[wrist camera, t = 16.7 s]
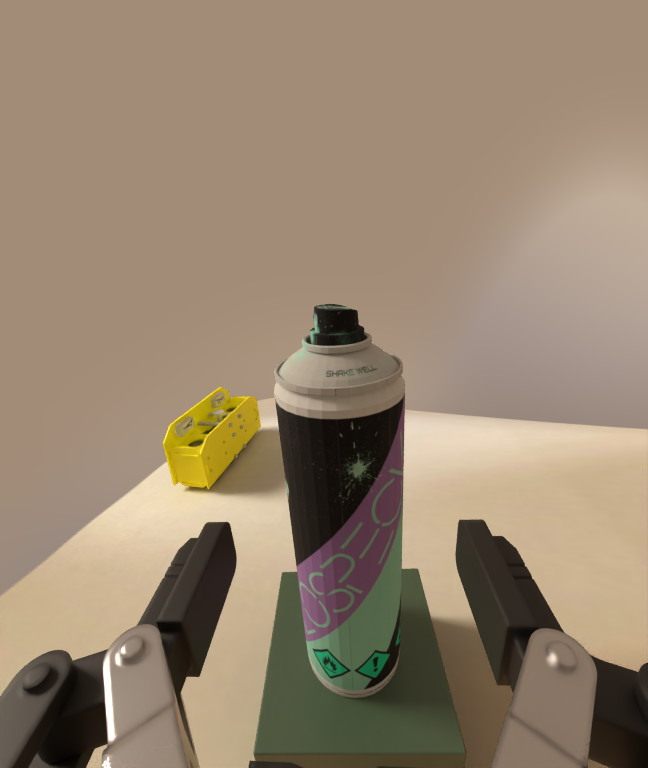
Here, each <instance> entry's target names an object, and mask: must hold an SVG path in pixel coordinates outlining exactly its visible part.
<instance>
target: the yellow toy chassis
mask: <svg viewBox="0 0 648 768" xmlns="http://www.w3.org/2000/svg"><path fill="white" fill-rule="evenodd" d="M217 392H219V393H218V394H217ZM216 394H217V395H216ZM179 422H180V424H178V425H177V423H179ZM176 425H177V426H176ZM260 427H261V424H260V418H259V411H258V404H257V399H256V398H254V397H252V396H248V397H232V398H231V399H230V396H229V391H227V390H225V389H224V388H222V387H219V388H218V389H217V390H215V391H214V392H213V393H212V394H210V395H209V396H207V397H206V398H205V399H203V400H202V401H201V402H199V403H198V404H197V405H195V406H194V407H193V408H191V409H190V410H189V411H187V412H186V413H185V414H183V415H182V416H181V417H179V418H178V419H177V420H175V421H174V422H173V423H171V424H170V425H169V428H168V430H167V433H166V436H165V438H164V441H163V447H164V450H165V454H166V458H167V461H168V465H169V469H170V472H171V476H172V480H173V483H174V485H176V484H177V483H178V482H179V483H181V484H182V485H184V486H193V487H202V488H203V487H205V486H207V489H209V488H210V487H211V486H212V485H213V483H214V482H215V481H216V480H217V478H218V477H219V476H220V475H221V474H222V472H223V471H224V470H225V469H226V468H227V466H228V465H229V464H230V463H231V462H232V460H233V459H234V458H238V453H239V452H240V451H241V450H242V448H246V447H247V445H246V443H247V442H248V441H249V440H250V439H251V437H252V436H253V435H254V434H255V433H256V431H257V430H258V429H259V428H260ZM175 429H176V433H177V435H176V434H175Z"/></svg>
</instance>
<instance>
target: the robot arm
mask: <svg viewBox="0 0 648 768" xmlns="http://www.w3.org/2000/svg"><path fill="white" fill-rule="evenodd" d="M456 564H457V569H458V573H459V576H460V579H461V582H462V585H463V588H464V591H465V593H466V596H467V599H468V602H469V605H470V608H471V611H472V614H473V616H474V619H475V622H476V625H477V628H478V631H479V634H480V637H481V639H482V642H483V645H484V648H485V651H486V654H487V657H488V660H489V662H490V665H491V668H492V671H493V674H494V677H495V680H496V683H497V685H510V686H511V688H512V691H513V697H512V701H511V704H510V707H509V710H508V712H507V714H506V717H505V720H504V724H503V727H502V730H501V734H500V737H499V741H498V744H497V748H496V751H495V754H494V758H493V761H492V765H491V768H588V758H589V759H591V760H593V761H596V762H598V763H601V764H603V765H605V766H608V767H610V768H648V663H645V664H644V665H643V666H642V667H641V668H640V670H639V672H636V671H633V670H630V669H627V668H624V667H621V666H618V665H614V664H611V663H608V662H605V661H602V660H600V659H597V658H595V657H593V656H591V655H590V654H589V653H588V652H587V651H586V650H585V649H584V647H583V646H582V645H581V644H579V643H578V642H577V641H576V640H575V639H573V638H572V637H570V636H569V635H567V634H565V633H564V631H563V630H562V628H561V627H560V625H559V623H558V621H557V620H556V618H555V616H554V614H553V613H552V611H551V609H550V607H549V606H548V604H547V602H546V600H545V599H544V597H543V595H542V593H541V592H540V590H539V588H538V586H537V584H536V583H535V581H534V579H532V576H531V574H530V572H529V570H528V569H527V567H525V563H524V562H523V560H522V558H521V556H520V555H519V553H518V551H517V549H516V548H515V547H514V546H513V545H512V544H510V543H509V542H508V541H507V540H506V539H505V538H504V537H503V536H492V534H491V533H490V531H489V529H488V527H487V525H486V523H485V521H484V520H459V523H458V533H457V544H456ZM235 569H236V550H235V546H234V541H233V536H232V532H231V527H230V524H229V523H228V522H208V523H206V524H205V526H204V527H203V529H202V531H201V533H200V535H199V537H198V538H190V539H189V540H188V541H187V542H186V543H185V544H184V545H183V546H182V547H181V548H180V549H179V550H178V552H177V554H176V556H175V557H174V559H173V561H172V563H171V567H169V568H168V570H167V572H166V574H165V577H164V578H163V579H162V581H161V583H160V585H159V587H158V588H157V590H156V592H155V594H154V596H153V597H152V599H151V601H150V603H149V605H148V607H147V608H146V610H145V612H144V614H143V616H142V617H141V619H140V621H139V623H138V624H137V626H135V627H133V628H131V629H129V630H127V631H126V632H124V633H123V634H122V635H120V636H119V637H118V638H117V639H116V640H115V641H114V642H113V643H112V645H111V646H110V648H109V649H107V650H104V651H102V652H99V653H96V654H92V655H89V656H86V657H83V658H80V659H77V660H74V661H72V659H71V657H70V655H69V654H68V653H67V652H66V651H63V650H54V651H50V652H47V653H45V654H42V655H41V656H39V657H37V658H35V659H34V660H32V661H31V662H30V663H28V664H27V665H26V666H25V667H24V668H23V669H21V670H20V671H19V673H18V674H17V675H16V676H15V677H14V678H13V680H12V681H11V682H10V684H9V685H8V686H7V688H6V689H5V691H4V692H3V693H2V695H1V696H0V768H86V766H87V764H88V762H89V760H90V758H91V755H92V753H93V751H94V749H95V748H98V747H100V746H103V745H106V744H108V745H107V748H106V749H105V750H104V751H103V753H102V768H200V767H199V763H198V759H197V755H196V751H195V747H194V743H193V739H192V735H191V731H190V726H189V722H188V718H187V714H186V710H185V706H184V702H183V698H182V694H181V690H182V688H183V685H184V682H185V679H186V677H199V676H200V673H201V671H202V668H203V665H204V662H205V659H206V656H207V653H208V650H209V647H210V644H211V641H212V638H213V635H214V632H215V629H216V626H217V623H218V620H219V617H220V614H221V612H222V609H223V606H224V603H225V600H226V597H227V594H228V591H229V588H230V585H231V582H232V579H233V576H234V573H235ZM249 768H303V767H301V766H298V765H296V764H294V763H291V762H266V761H250V763H249ZM376 768H412V767H388V766H379V767H376Z"/></svg>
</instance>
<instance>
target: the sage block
mask: <svg viewBox="0 0 648 768" xmlns="http://www.w3.org/2000/svg"><path fill="white" fill-rule="evenodd" d="M254 757H255V761H266V762H291V763H294V764H296V765H298V766H301V767H303V768H376V767H379V766H388V767H412V768H464V765H465V759H466V749H465V746H464V742H463V738H462V734H461V730H460V727H459V723H458V719H457V715H456V711H455V708H454V704H453V700H452V696H451V693H450V689H449V685H448V681H447V677H446V674H445V670H444V666H443V662H442V658H441V655H440V651H439V647H438V643H437V639H436V636H435V632H434V628H433V624H432V620H431V617H430V613H429V609H428V605H427V601H426V598H425V594H424V590H423V586H422V582H421V579H420V575H419V571H418V569H402V571H401V623H400V653H399V660H398V665H397V668H396V671H395V673H394V675H393V677H392V678H391V680H390V681H389V683H387V684H386V685H385V686H384V687H383V688H382V689H381V690H380V691H378V692H376V693H375V694H373V695H370V696H367V697H363V698H349V697H343V696H341V695H338V694H336V693H334V692H332V691H331V690H329V689H328V688H327V687H325V686H324V685H323V684H322V682H321V681H320V680H319V679H318V678H317V676H316V674H315V673H314V671H313V669H312V666H311V663H310V660H309V656H308V650H307V643H306V635H305V628H304V620H303V612H302V604H301V596H300V589H299V581H298V573H297V572H283V573H282V576H281V582H280V589H279V595H278V601H277V608H276V614H275V620H274V627H273V633H272V639H271V646H270V652H269V658H268V665H267V671H266V677H265V684H264V690H263V697H262V703H261V709H260V716H259V722H258V728H257V735H256V741H255V747H254Z"/></svg>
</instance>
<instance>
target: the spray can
mask: <svg viewBox="0 0 648 768" xmlns="http://www.w3.org/2000/svg"><path fill="white" fill-rule="evenodd" d="M313 321H314V326H315V328H313V329H311V330H310V335H308V336H306V337H305V338H303V340H302V347H303V348H301V349H300V350H298V351H297V352H296V353H294V354H293V355H292V356H291V357H290V358H287V359H285V360H284V361H282V362H281V363H279V364H278V365H277V367H276V368H275V378H276V382H277V383H276V385H275V388H274V393H275V401H276V409H277V416H278V424H279V432H280V440H281V448H282V456H283V463H284V471H285V479H286V487H287V495H288V503H289V510H290V518H291V526H292V534H293V542H294V549H295V557H296V565H297V573H298V581H299V589H300V596H301V604H302V612H303V620H304V628H305V635H306V643H307V650H308V656H309V660H310V663H311V666H312V669H313V671H314V673H315V674H316V676H317V678H318V679H319V680H320V681H321V682H322V684H323V685H324V686H325V687H327V688H328V689H329V690H331V691H332V692H334V693H336V694H338V695H341V696H343V697H349V698H363V697H367V696H370V695H373V694H375V693H376V692H378V691H380V690H381V689H382V688H383V687H384V686H385V685H386V684H387V683H389V681H390V680H391V678H392V677H393V675H394V673H395V671H396V668H397V665H398V660H399V653H400V623H401V571H402V518H403V466H404V413H405V382H404V379H403V378H402V376H401V374H402V372H403V366H402V362H401V360H400V359H399V358H398V357H396V356H395V355H392V354H390V353H388V352H385V351H383V350H382V349H380V348H379V347H377V346H375V345H374V344H372V343H371V341H372V340H371V335H369V334H368V333H365V332H364V328H363V327H362V326H360V325H359V324H358V313H357V310H352V309H350V308H348V307H345V306H342V305H335V304H325V305H319V306H316V307H314V315H313Z"/></svg>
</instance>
